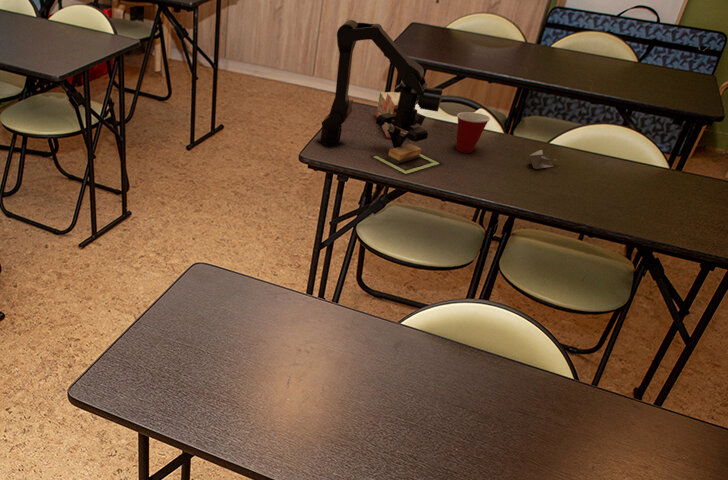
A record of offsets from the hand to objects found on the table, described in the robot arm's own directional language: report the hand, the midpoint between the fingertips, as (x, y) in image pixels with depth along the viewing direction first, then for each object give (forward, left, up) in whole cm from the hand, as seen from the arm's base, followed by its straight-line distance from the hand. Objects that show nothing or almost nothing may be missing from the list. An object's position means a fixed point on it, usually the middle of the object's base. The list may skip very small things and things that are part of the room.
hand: (396, 151), depth 236 cm
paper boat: (+35, -32, -2) cm, 47 cm away
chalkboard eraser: (0, -4, -1) cm, 4 cm away
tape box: (0, -5, -1) cm, 5 cm away
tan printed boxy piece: (+16, +19, -2) cm, 25 cm away
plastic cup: (+25, -9, -2) cm, 26 cm away
